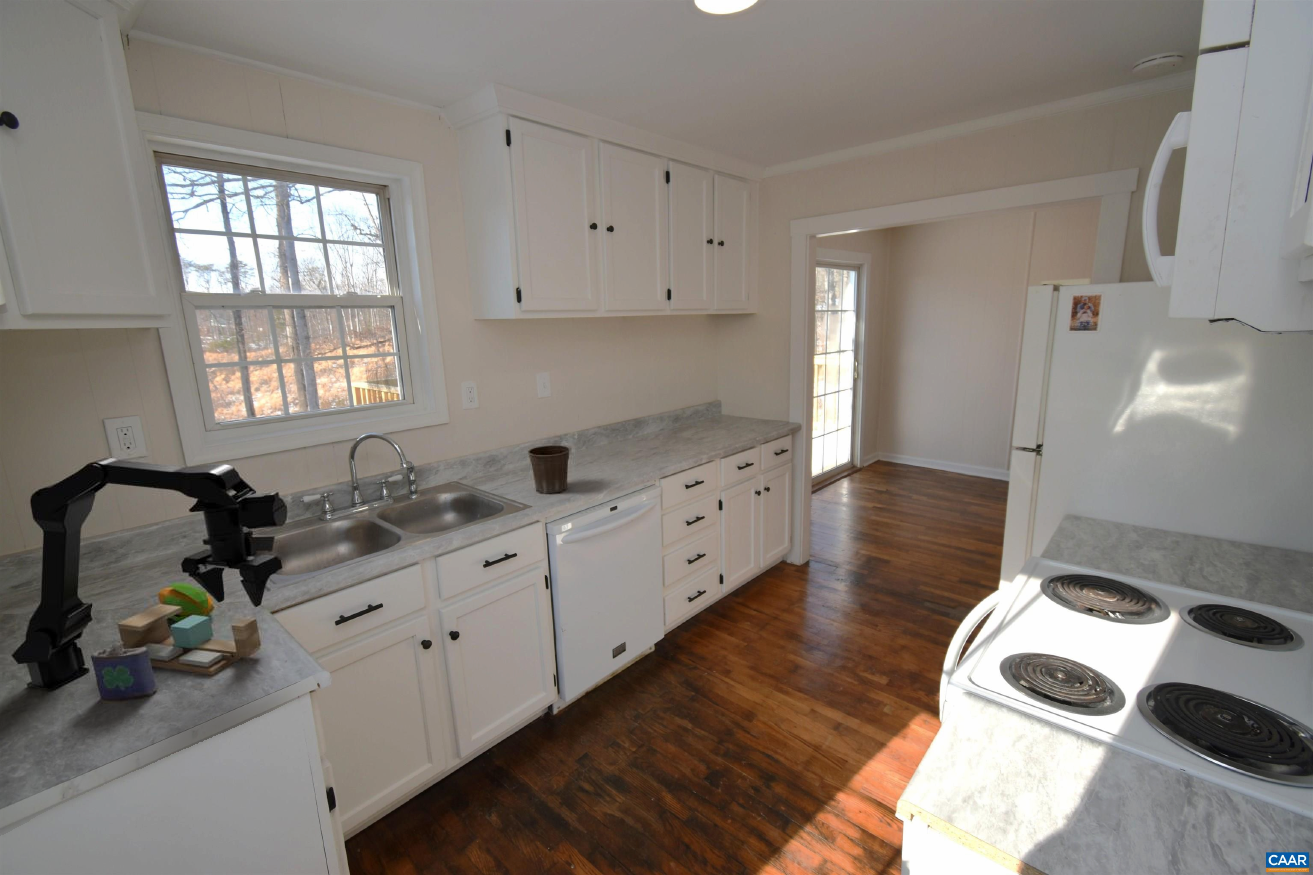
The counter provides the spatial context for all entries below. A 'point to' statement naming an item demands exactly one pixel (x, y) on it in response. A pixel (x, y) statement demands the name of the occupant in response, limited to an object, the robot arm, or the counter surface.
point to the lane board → (163, 639)
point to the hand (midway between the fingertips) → (239, 603)
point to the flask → (123, 673)
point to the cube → (192, 631)
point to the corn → (186, 600)
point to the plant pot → (550, 468)
